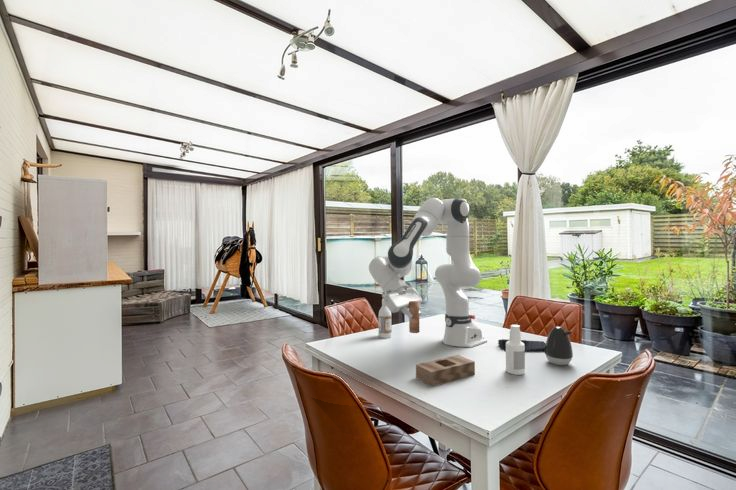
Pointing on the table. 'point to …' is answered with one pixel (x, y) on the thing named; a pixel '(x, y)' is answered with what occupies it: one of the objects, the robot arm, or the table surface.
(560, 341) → the pump dispenser
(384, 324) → the bath foam
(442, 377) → the socket block
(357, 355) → the table surface
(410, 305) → the peg
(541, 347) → the dark slate chunk
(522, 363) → the white bottle
